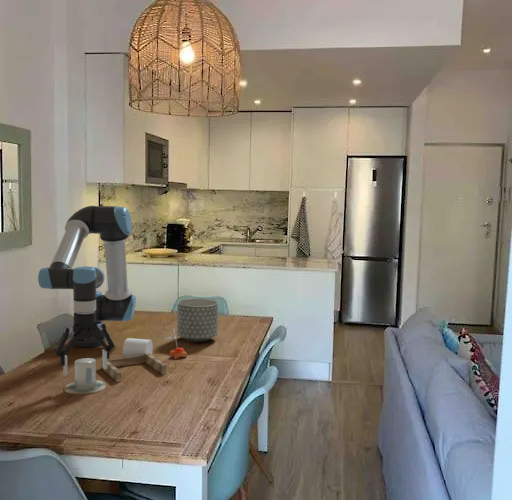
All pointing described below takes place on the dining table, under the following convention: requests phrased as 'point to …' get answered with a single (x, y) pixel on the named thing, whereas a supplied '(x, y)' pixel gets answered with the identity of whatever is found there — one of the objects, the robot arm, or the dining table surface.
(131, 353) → the mug
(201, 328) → the planter
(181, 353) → the orange lump with branch
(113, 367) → the wooden u-shaped frame
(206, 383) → the dining table surface
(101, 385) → the coaster
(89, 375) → the blue handled white cup
